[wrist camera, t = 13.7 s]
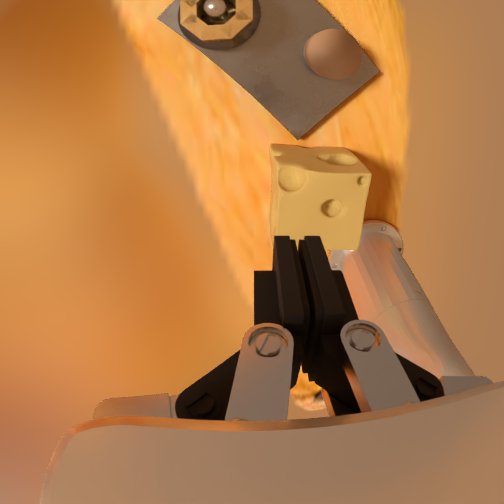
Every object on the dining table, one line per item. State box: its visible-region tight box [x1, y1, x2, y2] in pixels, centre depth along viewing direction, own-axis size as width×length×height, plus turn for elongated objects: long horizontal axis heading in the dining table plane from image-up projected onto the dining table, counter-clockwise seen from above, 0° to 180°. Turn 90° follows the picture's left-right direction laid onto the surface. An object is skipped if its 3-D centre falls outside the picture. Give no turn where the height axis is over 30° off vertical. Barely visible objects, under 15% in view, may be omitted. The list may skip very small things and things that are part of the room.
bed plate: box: [157, 0, 380, 140], centre depth 28 cm, size 23×14×1 cm, turn 45°
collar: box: [180, 0, 253, 43], centre depth 23 cm, size 7×7×4 cm
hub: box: [178, 0, 261, 50], centre depth 24 cm, size 9×9×7 cm
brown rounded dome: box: [304, 29, 362, 80], centre depth 28 cm, size 6×6×4 cm
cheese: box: [269, 144, 372, 250], centre depth 35 cm, size 10×11×10 cm
